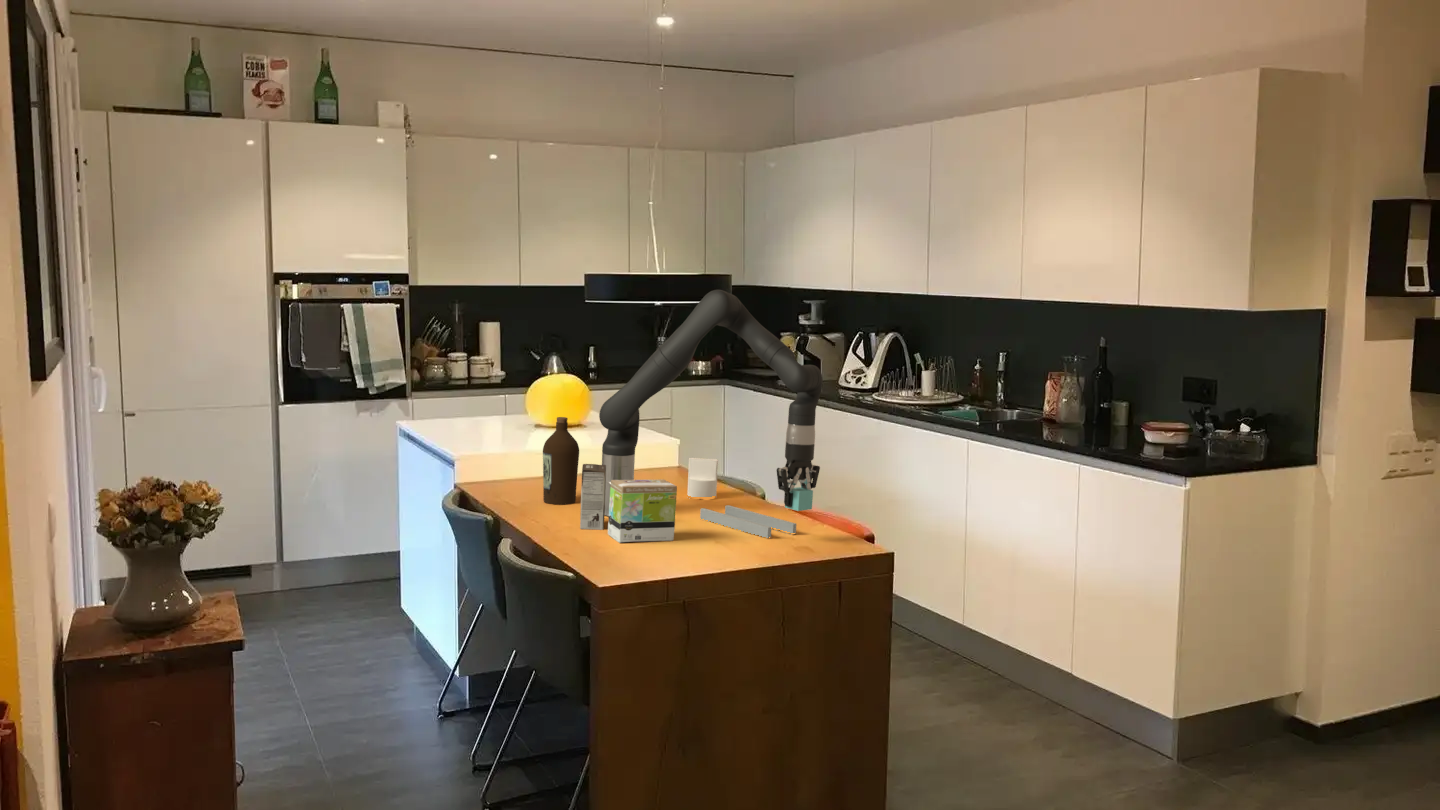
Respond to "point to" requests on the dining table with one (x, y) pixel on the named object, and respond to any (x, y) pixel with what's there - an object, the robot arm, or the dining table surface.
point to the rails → (747, 521)
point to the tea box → (642, 510)
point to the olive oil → (560, 466)
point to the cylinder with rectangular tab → (702, 477)
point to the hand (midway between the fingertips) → (796, 505)
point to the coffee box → (593, 496)
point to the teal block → (801, 499)
